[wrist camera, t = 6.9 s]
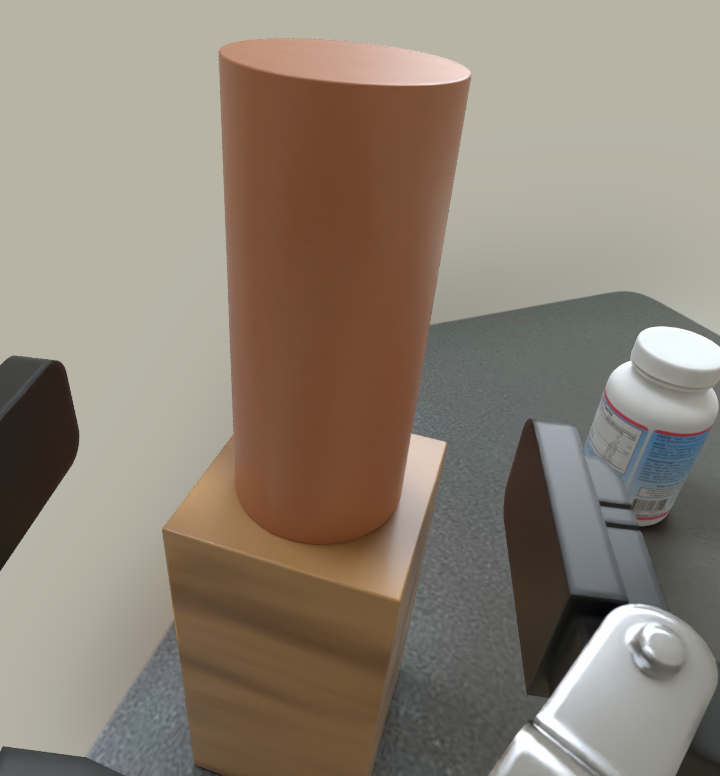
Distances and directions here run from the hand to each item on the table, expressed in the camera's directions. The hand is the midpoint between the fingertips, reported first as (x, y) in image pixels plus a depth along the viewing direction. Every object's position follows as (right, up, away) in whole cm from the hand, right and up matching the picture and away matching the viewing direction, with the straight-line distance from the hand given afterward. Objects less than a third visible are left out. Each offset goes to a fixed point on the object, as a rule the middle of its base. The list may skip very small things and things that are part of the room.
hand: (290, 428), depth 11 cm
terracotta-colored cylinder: (0, -2, +9) cm, 9 cm away
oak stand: (-1, -14, +17) cm, 22 cm away
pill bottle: (+18, -6, +30) cm, 36 cm away
